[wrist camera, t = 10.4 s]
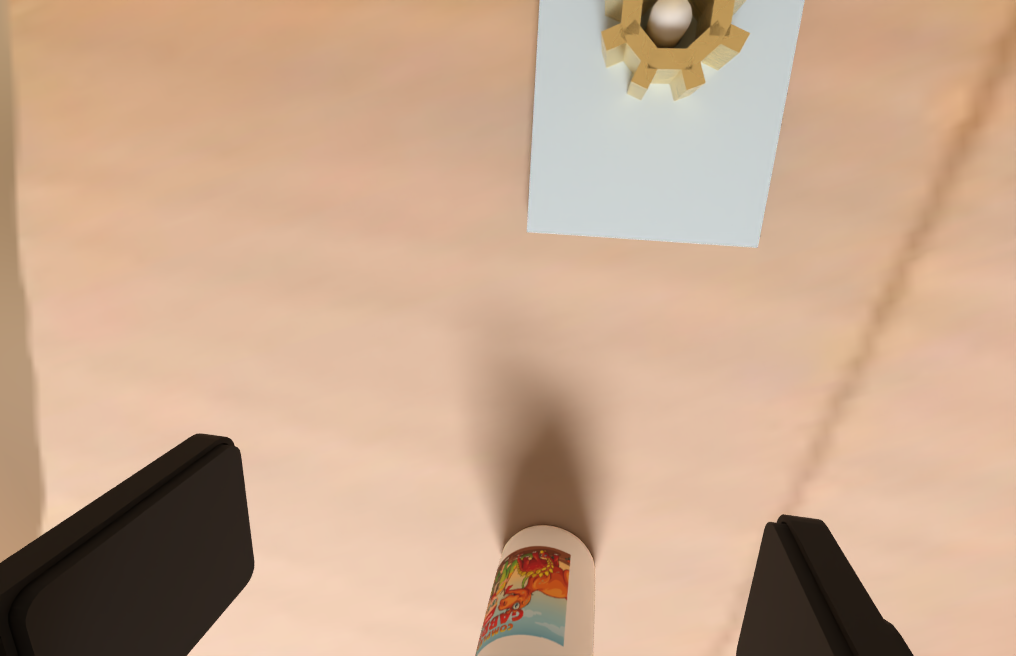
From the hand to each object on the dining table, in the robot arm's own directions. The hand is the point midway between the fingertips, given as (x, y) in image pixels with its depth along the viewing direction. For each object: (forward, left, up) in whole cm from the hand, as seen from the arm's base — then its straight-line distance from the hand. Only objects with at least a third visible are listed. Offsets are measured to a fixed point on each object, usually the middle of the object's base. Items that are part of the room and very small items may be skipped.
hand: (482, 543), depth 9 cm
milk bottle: (0, +25, -28) cm, 38 cm away
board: (-4, -15, -28) cm, 32 cm away
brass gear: (-4, -13, -26) cm, 30 cm away
